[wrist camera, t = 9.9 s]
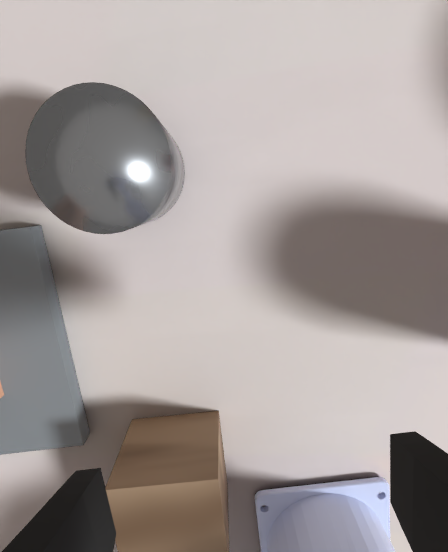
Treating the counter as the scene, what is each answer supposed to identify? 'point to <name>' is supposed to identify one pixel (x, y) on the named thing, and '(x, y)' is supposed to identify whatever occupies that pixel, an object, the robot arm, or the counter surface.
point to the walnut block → (171, 486)
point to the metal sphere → (102, 159)
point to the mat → (34, 352)
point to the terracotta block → (1, 391)
